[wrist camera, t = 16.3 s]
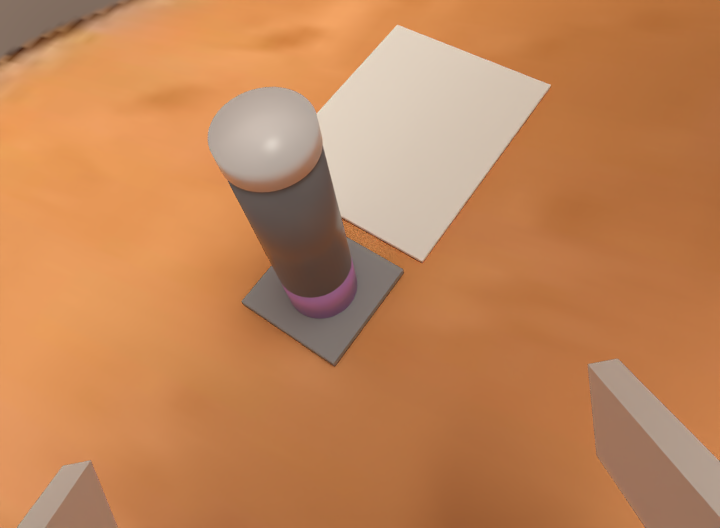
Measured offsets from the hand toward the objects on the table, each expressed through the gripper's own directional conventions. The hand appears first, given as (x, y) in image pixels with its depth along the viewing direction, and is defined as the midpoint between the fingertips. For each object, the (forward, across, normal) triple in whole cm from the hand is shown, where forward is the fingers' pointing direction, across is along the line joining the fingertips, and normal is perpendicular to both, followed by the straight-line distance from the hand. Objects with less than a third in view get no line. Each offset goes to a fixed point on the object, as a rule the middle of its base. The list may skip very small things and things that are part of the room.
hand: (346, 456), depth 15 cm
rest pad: (+15, -1, -1) cm, 15 cm away
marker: (+15, -1, 0) cm, 15 cm away
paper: (+22, +5, +6) cm, 23 cm away
